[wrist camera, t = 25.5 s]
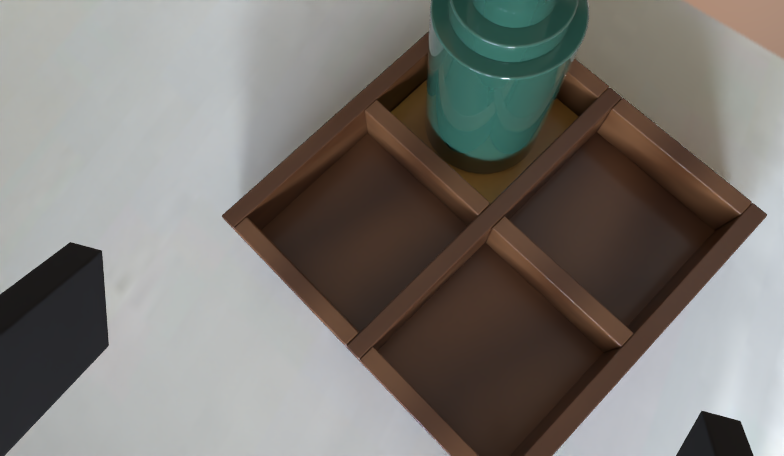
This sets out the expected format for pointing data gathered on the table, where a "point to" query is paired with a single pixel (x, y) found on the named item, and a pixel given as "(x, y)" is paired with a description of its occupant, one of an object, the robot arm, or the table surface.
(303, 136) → the table surface
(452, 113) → the green bottle
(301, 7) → the table surface
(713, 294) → the table surface
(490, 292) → the tray
